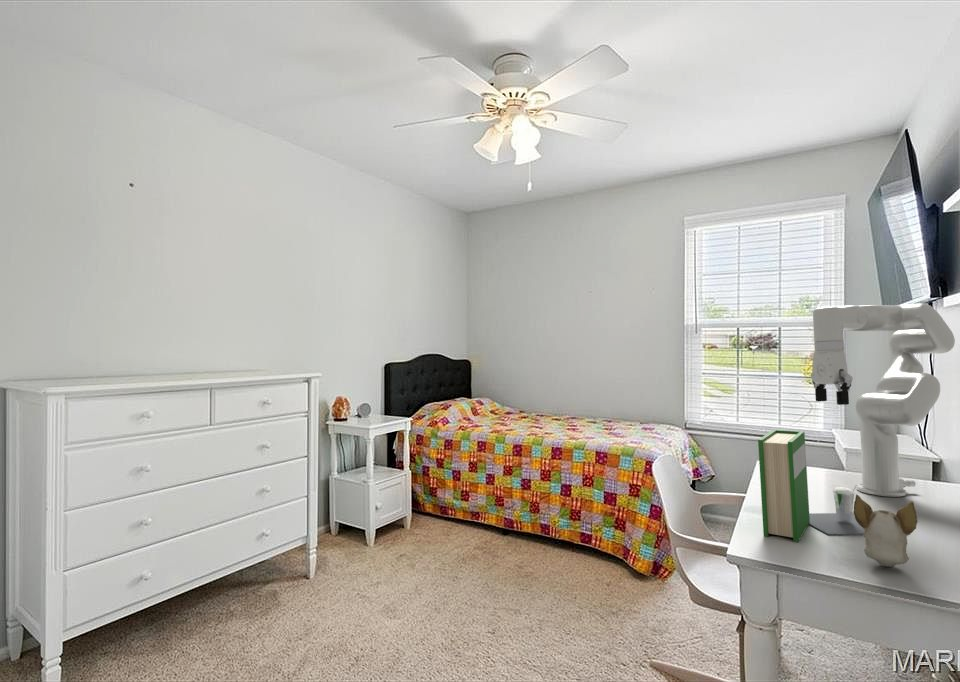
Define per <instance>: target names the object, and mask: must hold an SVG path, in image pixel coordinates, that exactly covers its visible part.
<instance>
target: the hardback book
mask: <svg viewBox="0 0 960 682" xmlns="http://www.w3.org/2000/svg"><path fill="white" fill-rule="evenodd" d="M805 435H806V434H805V431H803V430H802V431H800V430H784V429H772V430H771V431H769V432H767V433H766V434H764V435H763V436H762V437H760V438H759V439H757V442H758V443H757V445H758V446H757V447H758V460H759V462H758V464H759V479H760V494H761V495H760V496H761V514H762V516H761V517H762V528H763V529H762V533H763V537H767V538H768V537H769V535H770V534H771V535H775V536H782V537H787V538H792V539H793V542H795V543H799V541H800V539H801V538H802V536H803V534H804V532H805V531H806V529H807V527H808V526H809V525H808V524H809V522H810V517H809V514H810V504H809V503H810V502H809V487H808V470H807V454H806V453H807V452H806V451H807V450H806V437H805Z"/></svg>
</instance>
